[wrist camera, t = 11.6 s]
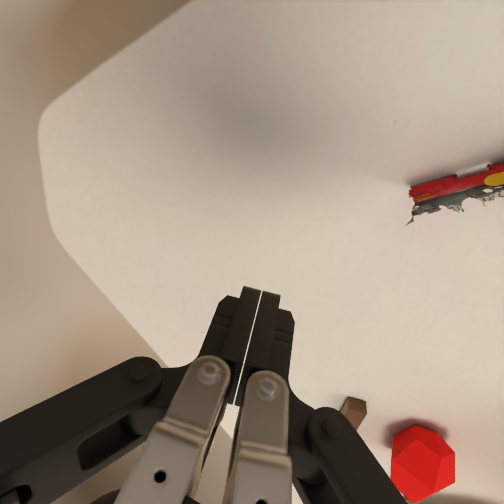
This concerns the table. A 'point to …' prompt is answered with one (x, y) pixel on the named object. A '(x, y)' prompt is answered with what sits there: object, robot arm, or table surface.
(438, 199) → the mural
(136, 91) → the table surface
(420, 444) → the apple
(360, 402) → the walnut slat
